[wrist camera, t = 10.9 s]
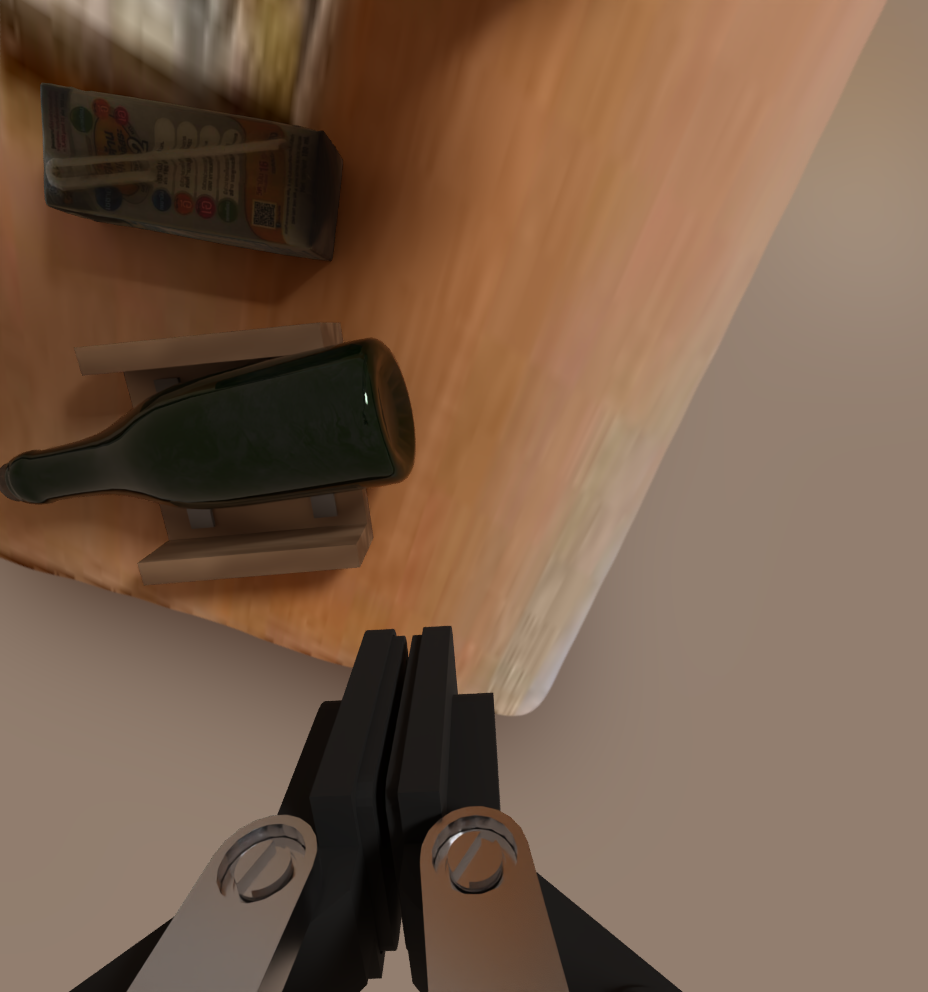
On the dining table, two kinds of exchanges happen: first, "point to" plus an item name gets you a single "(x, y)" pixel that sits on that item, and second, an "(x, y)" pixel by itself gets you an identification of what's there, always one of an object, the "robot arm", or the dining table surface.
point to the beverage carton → (190, 172)
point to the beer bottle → (243, 437)
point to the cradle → (251, 529)
